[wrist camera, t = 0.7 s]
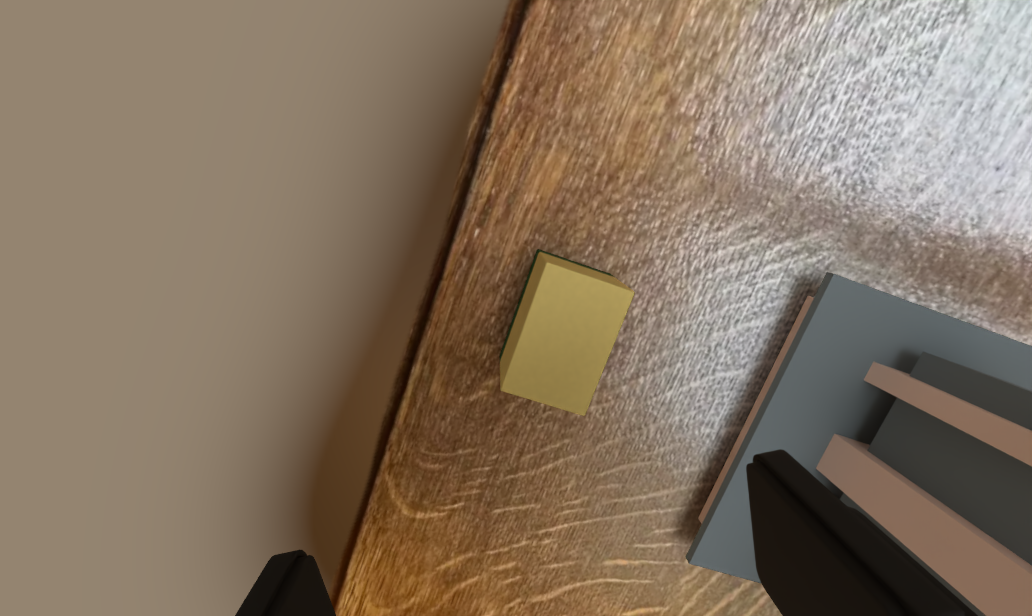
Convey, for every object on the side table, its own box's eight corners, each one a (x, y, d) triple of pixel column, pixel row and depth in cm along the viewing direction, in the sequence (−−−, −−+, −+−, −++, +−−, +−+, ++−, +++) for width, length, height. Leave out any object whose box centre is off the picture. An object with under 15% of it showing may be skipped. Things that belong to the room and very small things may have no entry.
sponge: (537, 248, 24) (546, 261, 20) (610, 273, 24) (635, 292, 20) (499, 356, 25) (499, 391, 21) (569, 378, 26) (584, 416, 21)
